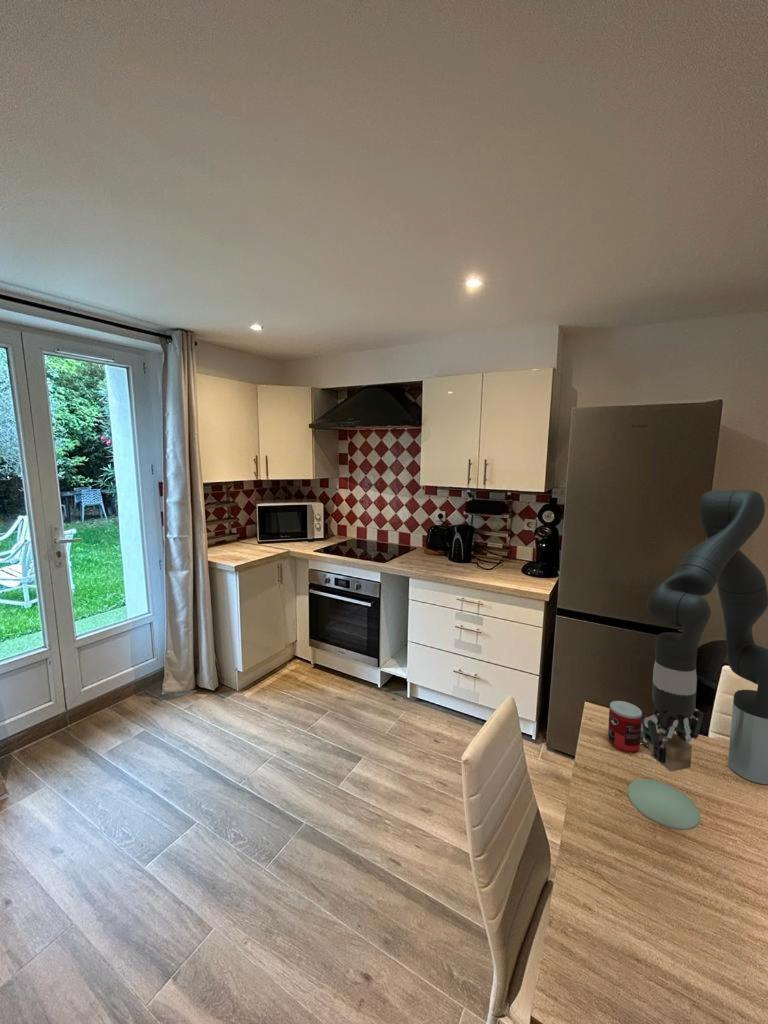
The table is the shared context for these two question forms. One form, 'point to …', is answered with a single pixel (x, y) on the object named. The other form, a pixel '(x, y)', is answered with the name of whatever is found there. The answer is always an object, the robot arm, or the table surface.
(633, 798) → the sage mat
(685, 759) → the walnut block
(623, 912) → the table surface
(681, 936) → the table surface
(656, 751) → the robot arm
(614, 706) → the canned food
